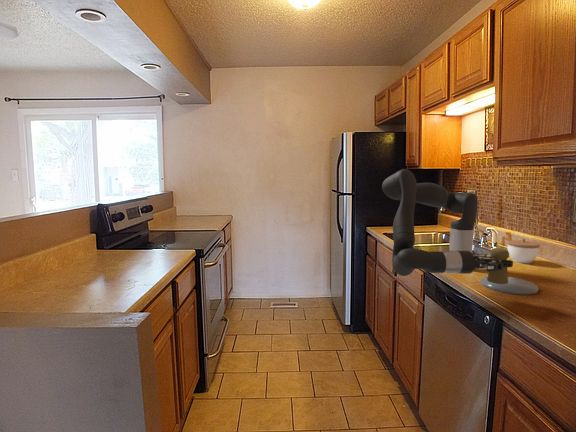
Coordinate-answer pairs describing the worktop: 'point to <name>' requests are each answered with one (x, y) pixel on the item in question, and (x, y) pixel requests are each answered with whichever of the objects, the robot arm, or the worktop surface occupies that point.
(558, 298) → the worktop surface
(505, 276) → the cork
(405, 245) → the robot arm
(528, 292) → the slate plate
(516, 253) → the lidded bowl
